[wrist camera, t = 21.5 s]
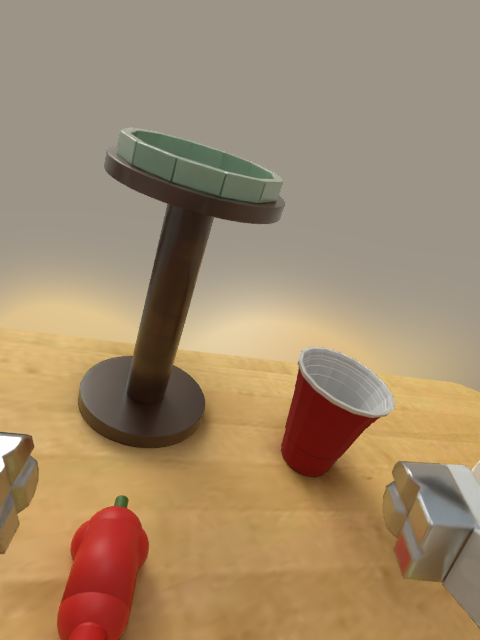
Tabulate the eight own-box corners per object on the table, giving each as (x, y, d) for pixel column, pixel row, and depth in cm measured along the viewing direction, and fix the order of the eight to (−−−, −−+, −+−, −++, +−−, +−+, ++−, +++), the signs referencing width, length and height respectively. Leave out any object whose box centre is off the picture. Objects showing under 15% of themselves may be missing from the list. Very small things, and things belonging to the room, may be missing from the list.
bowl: (249, 175, 47) (254, 159, 46) (302, 217, 35) (310, 195, 34) (113, 138, 41) (116, 118, 40) (121, 172, 29) (126, 145, 29)
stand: (195, 366, 59) (253, 175, 48) (224, 455, 46) (314, 222, 35) (71, 356, 53) (104, 135, 41) (64, 456, 40) (110, 172, 28)
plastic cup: (358, 509, 45) (412, 423, 40) (260, 481, 44) (301, 390, 39) (343, 439, 55) (384, 362, 49) (262, 415, 54) (296, 335, 49)
